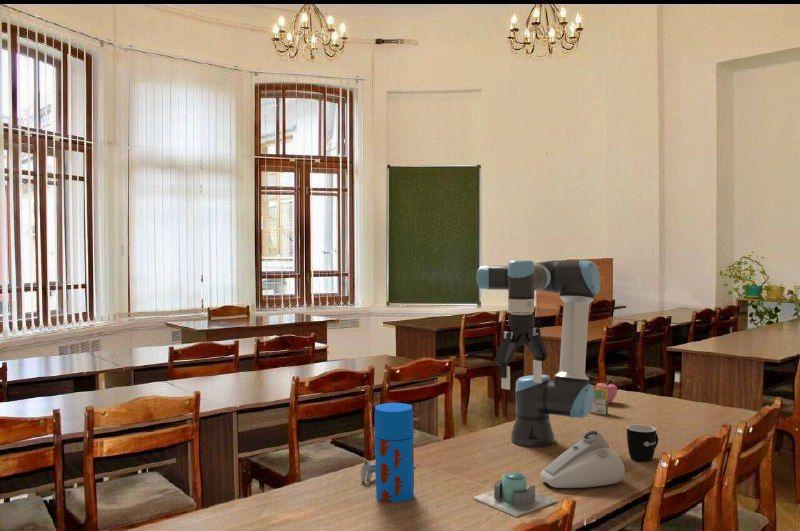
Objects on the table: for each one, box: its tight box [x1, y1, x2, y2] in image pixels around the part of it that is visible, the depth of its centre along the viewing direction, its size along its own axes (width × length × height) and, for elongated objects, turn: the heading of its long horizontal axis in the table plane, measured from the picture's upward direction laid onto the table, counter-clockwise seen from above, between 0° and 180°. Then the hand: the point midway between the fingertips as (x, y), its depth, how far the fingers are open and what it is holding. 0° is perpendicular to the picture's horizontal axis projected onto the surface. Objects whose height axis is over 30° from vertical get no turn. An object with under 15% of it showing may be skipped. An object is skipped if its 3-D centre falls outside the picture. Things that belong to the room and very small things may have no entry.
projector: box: [540, 429, 626, 489], centre depth 201 cm, size 22×23×15 cm
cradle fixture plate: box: [472, 479, 558, 518], centre depth 186 cm, size 16×16×4 cm
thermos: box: [374, 402, 415, 503], centre depth 191 cm, size 11×11×25 cm
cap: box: [501, 471, 527, 503], centre depth 186 cm, size 6×6×6 cm
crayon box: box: [589, 384, 609, 415], centre depth 279 cm, size 7×3×12 cm, turn 58°
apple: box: [595, 380, 618, 405], centre depth 295 cm, size 10×9×10 cm
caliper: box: [360, 460, 417, 483], centre depth 209 cm, size 20×1×6 cm, turn 128°
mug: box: [626, 423, 659, 463], centre depth 220 cm, size 12×9×10 cm
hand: (521, 385), depth 199 cm, fingers open, 13 cm apart
